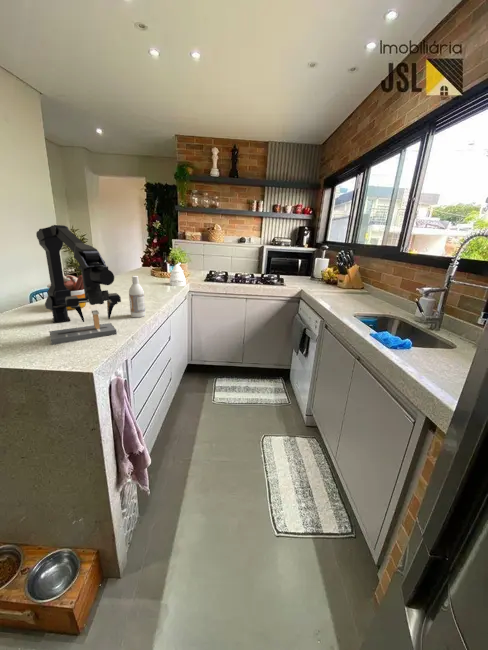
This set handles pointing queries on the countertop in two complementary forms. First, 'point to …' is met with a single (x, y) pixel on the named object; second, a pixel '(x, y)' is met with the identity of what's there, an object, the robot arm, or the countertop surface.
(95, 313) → the fader tab
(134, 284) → the bath foam
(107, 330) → the console
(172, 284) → the honey pot
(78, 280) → the bucket of meat
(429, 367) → the countertop surface
